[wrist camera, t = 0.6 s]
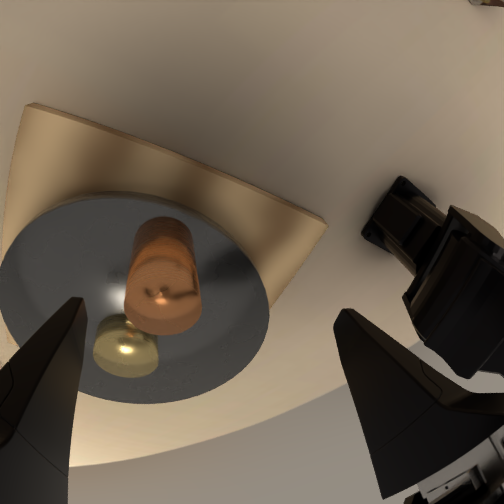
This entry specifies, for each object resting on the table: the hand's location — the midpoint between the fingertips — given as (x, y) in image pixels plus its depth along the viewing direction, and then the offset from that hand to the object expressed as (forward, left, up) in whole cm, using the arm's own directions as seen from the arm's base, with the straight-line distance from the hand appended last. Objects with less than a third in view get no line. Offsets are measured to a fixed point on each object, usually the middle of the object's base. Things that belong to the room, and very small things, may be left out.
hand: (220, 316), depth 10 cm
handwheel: (+1, +10, -8) cm, 13 cm away
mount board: (+1, +10, -12) cm, 16 cm away
